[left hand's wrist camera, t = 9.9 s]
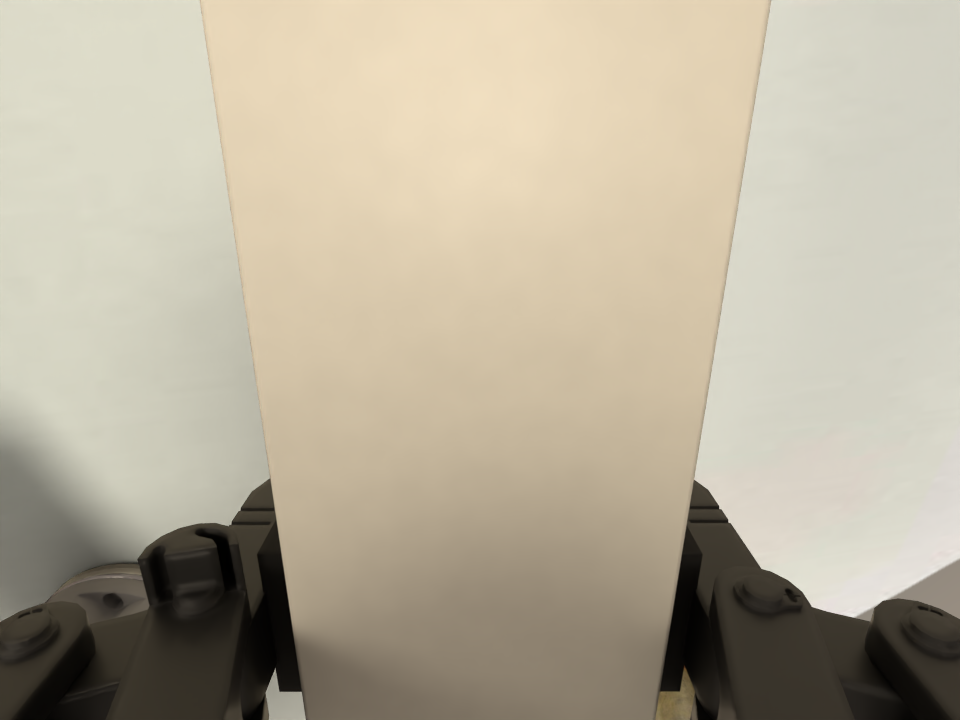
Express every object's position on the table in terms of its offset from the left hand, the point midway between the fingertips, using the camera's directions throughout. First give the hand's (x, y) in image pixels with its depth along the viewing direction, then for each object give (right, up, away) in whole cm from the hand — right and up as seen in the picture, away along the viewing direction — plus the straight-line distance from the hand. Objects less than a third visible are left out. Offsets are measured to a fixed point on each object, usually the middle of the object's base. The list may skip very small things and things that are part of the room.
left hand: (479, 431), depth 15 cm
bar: (0, +21, -7) cm, 23 cm away
